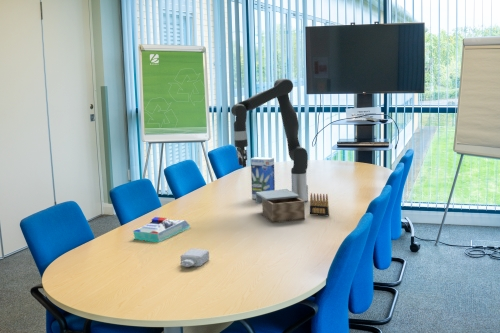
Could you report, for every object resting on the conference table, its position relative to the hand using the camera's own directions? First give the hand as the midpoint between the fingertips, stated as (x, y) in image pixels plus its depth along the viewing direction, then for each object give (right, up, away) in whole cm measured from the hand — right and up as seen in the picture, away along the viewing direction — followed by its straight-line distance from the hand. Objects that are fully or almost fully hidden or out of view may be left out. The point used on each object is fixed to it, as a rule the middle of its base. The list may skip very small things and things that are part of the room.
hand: (242, 166), depth 338 cm
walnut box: (+23, -28, -22) cm, 42 cm away
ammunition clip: (+43, -27, -20) cm, 54 cm away
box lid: (+20, -21, -14) cm, 32 cm away
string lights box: (+13, -21, +27) cm, 37 cm away
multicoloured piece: (-40, -35, -45) cm, 70 cm away
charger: (-20, -42, -96) cm, 106 cm away
